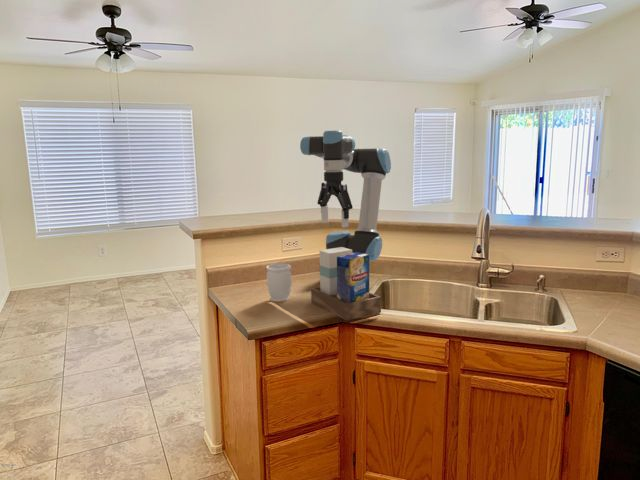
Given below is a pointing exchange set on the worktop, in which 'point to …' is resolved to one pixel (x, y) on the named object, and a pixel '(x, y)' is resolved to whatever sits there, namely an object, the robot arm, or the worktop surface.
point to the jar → (279, 281)
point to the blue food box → (353, 277)
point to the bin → (346, 305)
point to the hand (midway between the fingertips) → (334, 224)
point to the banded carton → (330, 269)
